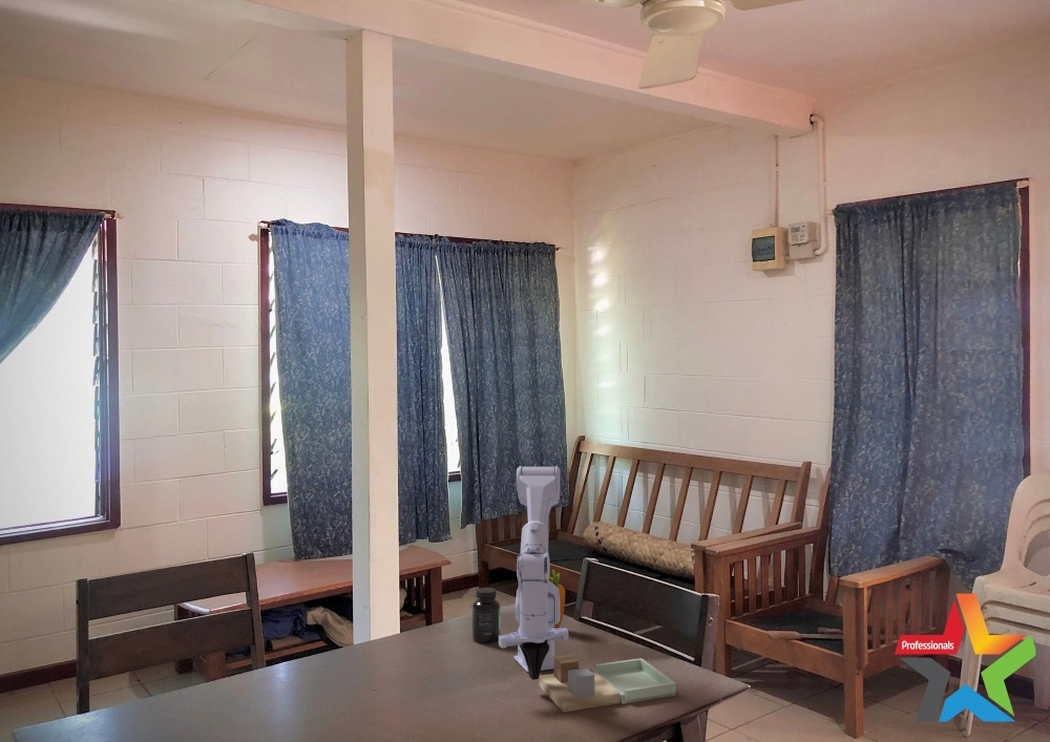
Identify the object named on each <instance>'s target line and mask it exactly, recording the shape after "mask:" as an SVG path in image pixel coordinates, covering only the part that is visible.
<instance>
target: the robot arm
mask: <svg viewBox="0 0 1050 742" xmlns="http://www.w3.org/2000/svg"><path fill="white" fill-rule="evenodd" d="M515 481H516V482H515V483H516V485H515V486H516V491H517V498H518V500H519V504H521V505H523V506H525V507H526V508H527V512H526V513H527V523H525V524H524V525H523V527H522V528H521V535H520V536H521V538H520V540H521V541H520V551H519V555H518V556H517V559H516V560H517V561H516V577H517V582H518V587H517V589H516V597H515V604H514V605H515V608H514V609H515V610H514V611H515V612H514V614H515V615H514V616H515V617H514V618H515V621H516V622H517V624H519V626H518V629H517V631H515V632H510V633H507V634H502V635H501V636H499V641H498V646H499V647H500V648H501V649H505V648H507V647H514V646H517V655H514V657H513V659H514V660H515V661H516V662H517V663H518V665H520V666H521V667H522V668H523V670H525V672H527V673H528V676H529V678H530V679H531V680H534V681H535V680H539V676H541V675H540V673H541V671H546V670H547V671H548V670H554V657H555V641H558V640H559V641H560V640H563V641H568V640H569V630H568V629H567V628H566V627H559V628H554V625H555V624H558V623H559V622H560V597H559V590H558V587H557V586H555V585H554V584H553V583H552V582H551V581H550V580H549V576H550V573H551V571H550V569H551V564H550V560H551V559H550V554H549V531H550V530H549V515H550V512H551V509H552V507H553V506H556V505H558V504H559V500H560V498H561V497H560V496H561V495H560V493H561V469H560V467H559V466H557V465H555V466H522V465H519V466H518V467H517V469H516V480H515ZM550 577H551V576H550ZM548 594H551V595H548Z"/></svg>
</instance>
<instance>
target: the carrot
mask: <svg viewBox="0 0 1050 742" xmlns="http://www.w3.org/2000/svg"><path fill="white" fill-rule="evenodd" d="M551 573H552V576H553V577H551V576H549V581H550V582H551V583H553V584H554V585H555V586H557V587H558V590H559V597H560V622H559V623H558V624H555V625H554V628H560V626H561V623H562V621H563V618H564V613H565V607H566V589H565V588H564V586H563V585H561V584H559V582H560V578H561V573H560V572H557V574H556V570H555V569H551ZM548 595H551V594H548Z"/></svg>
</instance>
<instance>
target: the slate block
mask: <svg viewBox="0 0 1050 742" xmlns="http://www.w3.org/2000/svg"><path fill="white" fill-rule="evenodd" d="M588 669H589V668H587V667H582V668H579V669H574V670H568V691H569V692H570V693H571V694H572V695H574V696H575V697H576V698H578V697H585V696H591V695H595V675H594V674H593V673H592V672H591V671H589V670H588Z"/></svg>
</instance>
